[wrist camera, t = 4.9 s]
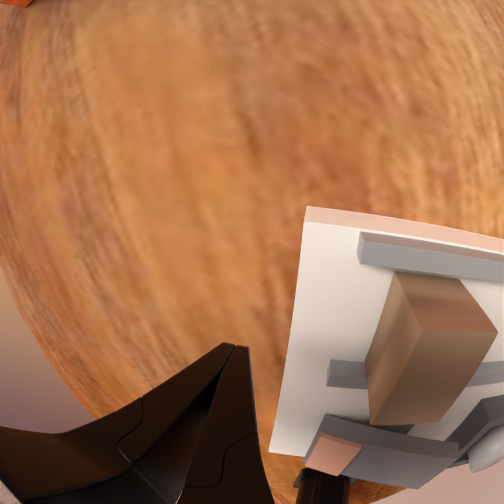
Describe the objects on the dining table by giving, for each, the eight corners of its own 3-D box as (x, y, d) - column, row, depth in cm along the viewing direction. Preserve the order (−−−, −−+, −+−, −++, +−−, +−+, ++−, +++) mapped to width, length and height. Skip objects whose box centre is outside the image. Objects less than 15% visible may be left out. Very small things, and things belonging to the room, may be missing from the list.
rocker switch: (420, 475, 11) (416, 492, 9) (308, 449, 15) (299, 465, 13) (459, 442, 9) (457, 462, 8) (325, 413, 13) (316, 433, 12)
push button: (492, 445, 10) (496, 464, 8) (456, 455, 11) (459, 477, 9) (523, 413, 8) (530, 433, 6) (488, 423, 9) (495, 447, 7)
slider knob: (422, 362, 10) (438, 421, 7) (364, 360, 10) (370, 424, 7) (458, 278, 8) (498, 332, 5) (393, 271, 9) (421, 330, 6)
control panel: (490, 420, 14) (500, 454, 10) (274, 426, 18) (262, 473, 14) (580, 261, 7) (612, 289, 3) (306, 205, 12) (300, 240, 7)
